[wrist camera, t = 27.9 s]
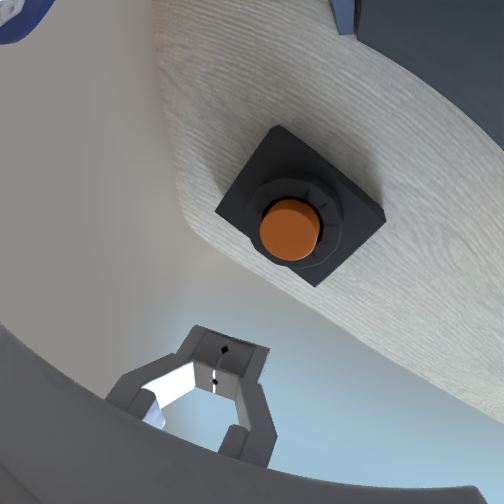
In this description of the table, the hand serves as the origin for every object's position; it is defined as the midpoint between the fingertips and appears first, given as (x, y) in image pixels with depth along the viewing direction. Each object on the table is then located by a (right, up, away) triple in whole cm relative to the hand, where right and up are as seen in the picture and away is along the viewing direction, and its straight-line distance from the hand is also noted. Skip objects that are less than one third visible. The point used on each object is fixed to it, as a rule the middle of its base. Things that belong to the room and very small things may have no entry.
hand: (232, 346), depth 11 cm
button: (+3, +5, +9) cm, 11 cm away
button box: (+5, +7, +12) cm, 15 cm away
